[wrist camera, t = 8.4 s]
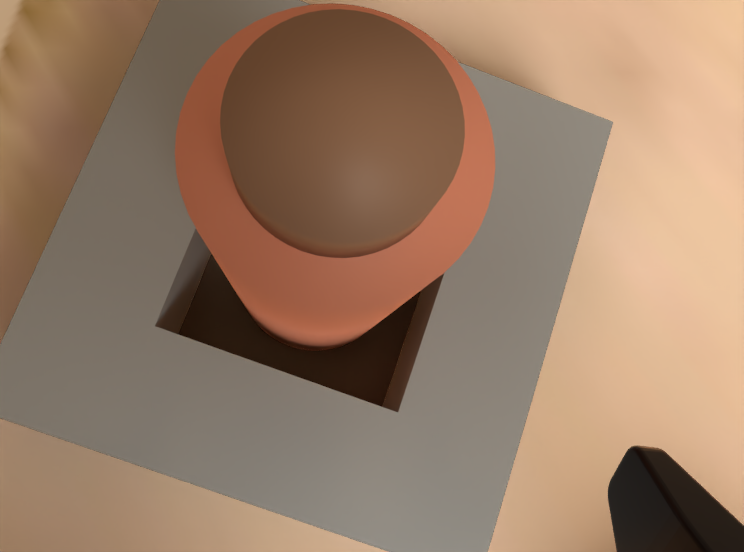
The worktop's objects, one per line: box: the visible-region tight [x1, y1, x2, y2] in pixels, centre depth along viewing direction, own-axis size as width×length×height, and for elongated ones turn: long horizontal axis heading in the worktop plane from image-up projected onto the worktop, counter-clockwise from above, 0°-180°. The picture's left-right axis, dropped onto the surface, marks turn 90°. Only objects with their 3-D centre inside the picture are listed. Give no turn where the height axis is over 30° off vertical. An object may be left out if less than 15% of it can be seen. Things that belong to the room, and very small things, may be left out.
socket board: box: [0, 0, 613, 552], centre depth 17 cm, size 12×12×3 cm
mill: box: [175, 4, 495, 351], centre depth 13 cm, size 4×4×11 cm
